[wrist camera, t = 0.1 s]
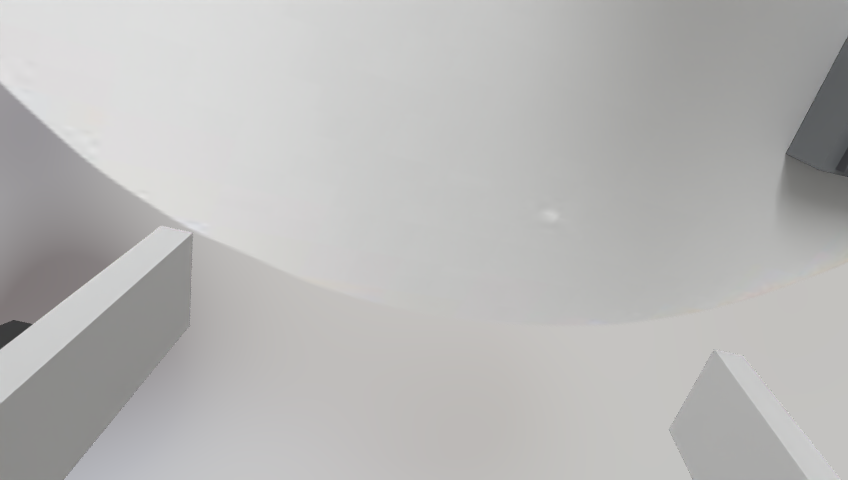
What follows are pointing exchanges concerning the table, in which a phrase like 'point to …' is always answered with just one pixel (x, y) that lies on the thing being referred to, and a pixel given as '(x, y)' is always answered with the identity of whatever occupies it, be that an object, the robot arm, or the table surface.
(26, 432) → the robot arm
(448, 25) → the table surface
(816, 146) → the power strip
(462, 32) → the table surface
